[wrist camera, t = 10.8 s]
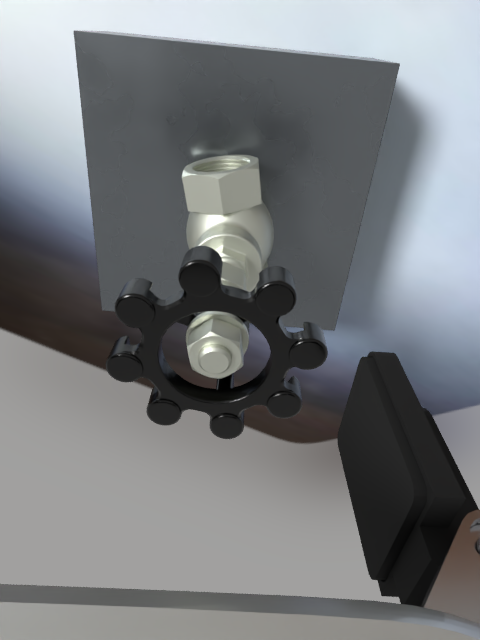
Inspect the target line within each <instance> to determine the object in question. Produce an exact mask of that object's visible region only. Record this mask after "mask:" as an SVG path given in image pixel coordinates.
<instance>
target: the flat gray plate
mask: <svg viewBox="0 0 480 640" xmlns="http://www.w3.org/2000/svg"><path fill="white" fill-rule="evenodd" d="M74 39H75V49H76V59H77V68H78V78H79V88H80V98H81V108H82V118H83V128H84V137H85V147H86V157H87V167H88V177H89V187H90V197H91V206H92V216H93V226H94V236H95V246H96V256H97V266H98V275H99V285H100V295H101V305H102V310H104V311H115V303H116V301H117V299H118V297H119V295H120V293H121V291H122V289H123V287H124V285H125V284H126V283H127V282H128V281H130V280H132V279H135V278H143V279H147V280H149V281H151V282H152V287H151V289H150V291H151V292H153V294H154V295H155V296H156V297H158V298H159V299H162V300H165V299H167V298H168V297H169V296H171V295H173V294H175V293H177V292H178V291H181V290H183V289H182V287H181V286H180V283H179V279H178V275H179V271H180V267H181V264H182V261H183V258H184V256H185V254H186V253H187V251H188V250H189V247H188V243H187V234H186V228H187V221H188V217H189V214H190V211H188V208H187V203H186V197H185V192H184V186H183V181H182V174H183V170H184V168H185V167H186V166H187V165H189V164H191V163H193V162H195V161H198V160H202V159H206V158H210V157H216V156H223V155H250V156H254V157H257V158H258V160H259V172H260V183H261V199H262V201H263V203H264V204H265V206H266V207H267V209H268V211H269V213H270V216H271V219H272V223H273V229H274V240H273V246H272V250H271V253H270V255H269V257H268V259H267V263H268V267H270V266H280V267H283V268H285V269H287V270H288V271H289V272H290V273H291V274H292V275H293V278H294V282H295V288H296V294H297V301H296V304H295V306H294V308H293V309H292V310H291V311H290V312H289V313H287V314H286V315H283V316H280V318H281V320H282V322H283V324H284V326H288V327H300V328H304V326H303V323H304V322H312V323H314V324H317V325H318V326H319V327H320V328H321V329H323V330H335V326H336V322H337V318H338V314H339V310H340V306H341V302H342V297H343V293H344V289H345V285H346V281H347V277H348V273H349V269H350V265H351V261H352V257H353V253H354V249H355V245H356V241H357V236H358V232H359V228H360V224H361V220H362V216H363V212H364V208H365V204H366V200H367V196H368V192H369V188H370V184H371V180H372V175H373V171H374V167H375V163H376V159H377V155H378V151H379V147H380V143H381V139H382V135H383V131H384V127H385V123H386V119H387V115H388V110H389V106H390V102H391V98H392V94H393V90H394V86H395V82H396V78H397V74H398V70H399V66H400V64H399V63H394V62H389V61H384V60H379V59H374V58H364V57H355V56H345V55H335V54H325V53H315V52H305V51H295V50H285V49H276V48H266V47H256V46H246V45H236V44H226V43H216V42H207V41H197V40H187V39H177V38H167V37H157V36H147V35H138V34H128V33H118V32H108V31H74ZM249 323H250V322H249Z"/></svg>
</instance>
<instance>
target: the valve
mask: <svg viewBox="0 0 480 640" xmlns="http://www.w3.org/2000/svg"><path fill="white" fill-rule="evenodd" d="M182 181H183V186H184V192H185V197H186V203H187V208H188V211H190V214H189V217H188V221H187V228H186V234H187V243H188V247H189V250H188V251H187V253H186V254H185V256H184V258H183V261H182V264H181V267H180V271H179V275H178V279H179V283H180V286H181V287H182V289H183V290H181V291H178V292H177V293H175V294H173V295H171V296H169V297H168V298H167V299H165V300H162V299H159V298H158V297H156V296H155V295H154V294H153V292H151V291H150V289H151V287H152V282H151V281H149V280H147V279H143V278H135V279H132V280H130V281H128V282H127V283H126V284H125V285H124V287H123V289H122V291H121V293H120V295H119V297H118V299H117V301H116V303H115V313H116V316H117V317H118V319H119V320H120V321H121V322H122V323H123V324H125V325H127V326H129V327H133V328H139V329H140V330H141V332H142V339H141V343H139V344H137V345H130V341H129V337H128V336H124V337H121V338H119V339H118V340H117V341H116V342H115V343H114V346H113V348H112V350H111V352H110V354H109V357H108V359H107V361H106V369H107V371H108V373H109V374H110V375H111V376H112V377H113V378H114V379H116V380H119V381H121V382H133V381H135V380H137V379H139V378H140V377H143V378H146V379H148V380H150V381H151V382H152V384H153V385H154V388H153V389H152V392H151V396H150V399H149V403H148V407H147V415H148V417H149V418H150V419H151V420H152V421H153V422H155V423H157V424H160V425H171V424H174V423H176V422H177V421H178V420H179V419H180V417H181V414H182V412H183V411H185V410H188V409H193V410H198V411H202V412H205V413H207V414H208V415H209V416H210V429H211V431H212V433H213V434H214V435H216V436H217V437H220V438H223V439H232V438H235V437H237V436H239V435H240V434H241V433H242V431H243V428H244V410H245V409H247V408H250V407H253V406H255V405H264V406H266V407H267V409H268V411H269V412H270V413H271V414H272V415H273V416H275V417H278V418H290V417H293V416H295V415H296V414H298V413H299V411H300V410H301V408H302V398H301V390H300V383H299V381H298V380H297V378H295V377H294V376H293V377H291V379H290V380H289V381H288V382H286V381H285V380H284V379H285V377H286V374H287V372H288V371H289V369H291V368H292V367H298V368H300V369H304V370H310V369H314V368H317V367H319V366H321V365H322V364H323V363H324V362H325V360H326V358H327V354H328V351H327V346H326V342H325V337H324V333H323V331H322V329H321V328H320V327H319V326H318V325H317V324H314V323H312V322H304V323H303V326H304V331H300V332H297V333H291V332H288V331H287V330H286V328H285V326H284V324H283V322H282V320H281V318H280V316H283V315H286V314H287V313H289V312H290V311H291V310H292V309H293V308H294V306H295V304H296V301H297V294H296V288H295V282H294V278H293V275H292V274H291V273H290V272H289V271H288V270H287V269H285V268H283V267H280V266H270V267H268V263H267V259H268V257H269V255H270V253H271V250H272V246H273V240H274V229H273V223H272V219H271V216H270V213H269V211H268V209H267V207H266V206H265V204H264V203H263V201H262V199H261V183H260V172H259V160H258V158H257V157H254V156H250V155H223V156H216V157H210V158H206V159H202V160H198V161H195V162H193V163H191V164H189V165H187V166H186V167H185V168H184V170H183V174H182ZM175 322H178V323H181V324H184V325H187V326H188V329H187V333H186V344H187V350H188V356H189V360H190V364H191V368H192V370H194V371H196V372H198V373H200V374H202V375H205V376H207V377H211V378H215V379H217V386H216V389H210V388H204V387H200V386H197V385H194V384H192V383H189V382H188V381H186V380H184V379H183V378H181V377H180V376H179V375H178V374H176V373H175V372H174V371H173V369H172V368H171V367H170V366H169V365H168V363H167V361H166V360H165V357H164V355H163V351H162V337H163V335H164V334H165V332H166V331H167V329H168V328H169V327H170V326H171V325H173V324H174V323H175ZM249 322H250V323H252V324H253V325H254V326H256V327H257V328H258V329H259V330H260V331H261V332H262V334H263V335H264V336H265V338H266V339H267V341H268V343H269V346H270V350H271V354H270V358H269V360H268V363H267V365H266V367H265V368H264V369H263V370H262V372H261V373H260V374H259V375H258V376H257V377H256V378H254V379H253V380H251V381H250V382H248V383H246V384H244V385H241V386H238V387H234V372H235V371H237V370H238V369H240V368H241V367H242V366H243V355H244V353H245V352H246V350H247V348H248V344H249Z"/></svg>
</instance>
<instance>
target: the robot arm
mask: <svg viewBox="0 0 480 640" xmlns="http://www.w3.org/2000/svg"><path fill="white" fill-rule="evenodd" d="M338 447H339V451H340V456H341V460H342V464H343V468H344V472H345V477H346V481H347V485H348V489H349V493H350V497H351V502H352V506H353V510H354V514H355V518H356V522H357V526H358V531H359V535H360V539H361V543H362V547H363V551H364V556H365V560H366V564H367V568H368V572H369V575H370V577H371V579H373V580H378V583H379V587H380V591H381V595H382V596H392V597H399V598H400V602H401V604H396V603H387V602H378V601H366V600H349V599H334V598H333V599H332V598H317V597H301V596H281V595H258V594H233V593H211V592H190V591H166V590H140V589H115V588H88V587H62V586H61V587H60V586H36V585H8V584H0V640H480V510H479V509H478V507H477V505H476V503H475V501H474V499H473V497H472V495H471V493H470V491H469V489H468V487H467V485H466V483H465V481H464V479H463V477H462V475H461V473H460V471H459V469H458V467H457V465H456V463H455V461H454V459H453V457H452V455H451V453H450V451H449V449H448V447H447V445H446V443H445V441H444V439H443V437H442V435H441V433H440V431H439V429H438V427H437V425H436V423H435V421H434V419H433V417H432V415H431V414H430V412H429V411H428V410H426V409H425V408H422V407H421V405H420V403H419V401H418V399H417V397H416V394H415V392H414V390H413V388H412V386H411V384H410V382H409V380H408V378H407V376H406V374H405V372H404V370H403V368H402V366H401V364H400V361H399V359H398V357H397V356H396V354H394V353H386V352H370V353H369V354H368V356H367V357H362V358H361V359H360V362H359V365H358V368H357V372H356V375H355V378H354V382H353V385H352V388H351V392H350V395H349V398H348V402H347V405H346V408H345V412H344V415H343V418H342V422H341V425H340V428H339V432H338Z"/></svg>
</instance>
